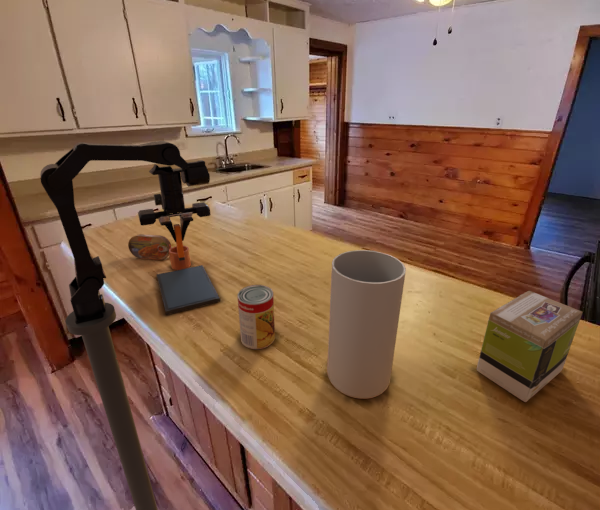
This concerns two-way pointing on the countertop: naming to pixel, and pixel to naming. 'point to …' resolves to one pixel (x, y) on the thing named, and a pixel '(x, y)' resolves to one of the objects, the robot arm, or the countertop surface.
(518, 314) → the tea box
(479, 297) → the countertop surface
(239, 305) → the canned food
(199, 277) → the tablet
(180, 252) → the stylus
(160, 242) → the tin
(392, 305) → the cylinder vase
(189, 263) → the pen cup
